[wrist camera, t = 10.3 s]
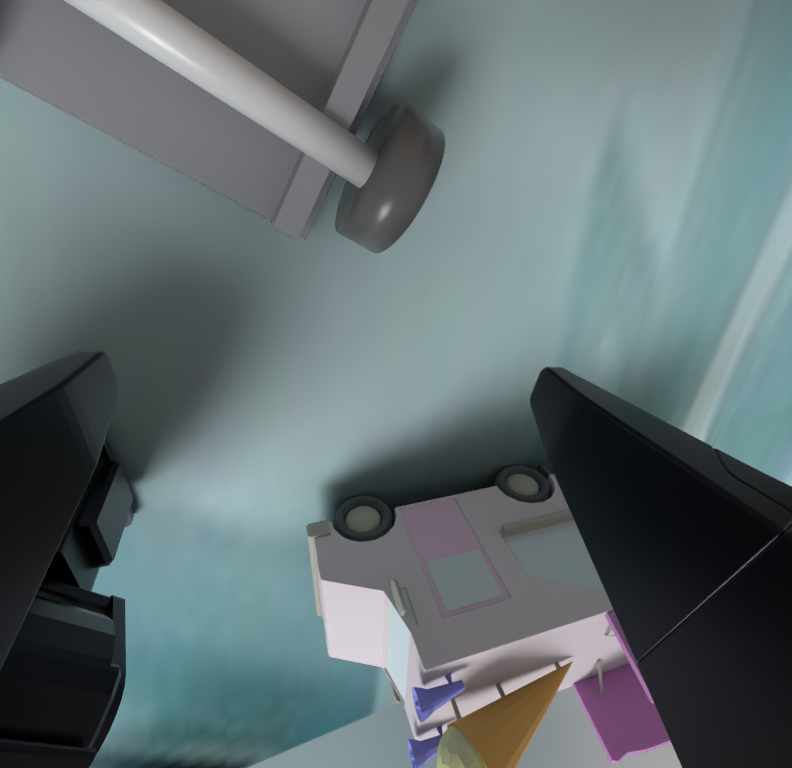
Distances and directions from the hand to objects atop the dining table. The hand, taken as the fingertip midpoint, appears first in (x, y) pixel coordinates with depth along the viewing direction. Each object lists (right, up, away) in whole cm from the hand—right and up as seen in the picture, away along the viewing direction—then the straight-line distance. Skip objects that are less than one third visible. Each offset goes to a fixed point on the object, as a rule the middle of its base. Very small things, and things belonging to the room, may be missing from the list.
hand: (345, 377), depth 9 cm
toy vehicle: (+4, -9, +22) cm, 24 cm away
